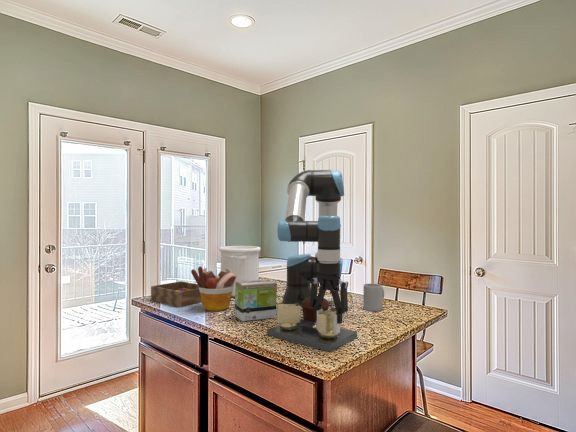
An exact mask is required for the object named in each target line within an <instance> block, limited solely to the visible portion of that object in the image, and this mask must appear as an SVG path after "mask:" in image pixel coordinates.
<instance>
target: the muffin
mask: <svg viewBox="0 0 576 432" xmlns="http://www.w3.org/2000/svg"><path fill="white" fill-rule="evenodd" d="M330 306H331V305H330V304H329V301H328V300H327V299H325V298H324V299H323V302H322V306H321V307H322V308H321V309H323V312H324V311H326V310H329V309H330ZM300 308H301V311H302V320H306V321H310V322H317V319H315V309H314V308H313V307H310V297H308V298H306V299H305V300H304V301H303V302H302V304H301V306H300Z"/></svg>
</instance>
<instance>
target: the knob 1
mask: <svg viewBox="0 0 576 432" xmlns="http://www.w3.org/2000/svg"><path fill="white" fill-rule="evenodd" d="M300 319H301V306H300V305H299V303H296V304H284V303H278V304H276V323H277V324H279V325H280V328H281V329H284V330H293V329H296V328H297V323H300Z"/></svg>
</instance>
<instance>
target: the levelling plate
mask: <svg viewBox="0 0 576 432" xmlns="http://www.w3.org/2000/svg"><path fill="white" fill-rule="evenodd" d="M268 335H269V337H272V336H273V337H272V338H275V337H276V338H277V339H279V338H280V340H284V341H287V342H291V343H295V344H299V345H303V346H306V347H310V348H314V349H318V350H321V351H325V352H329V353H331V352H333V351H335V350H336V349H338V348H340V347H342V346H344V345H346V344H348V343H349V342H351V341H353V340H355V339H357V338H358V331H356V330H352V329H346V328H342V327H340V333H338V334H337V337H336V338H332V339H327V338H322V337H320V336H319V332H318V330H317V322H310V321H306V320H304V319H301V318H300V323H297V328H296V329H293V330H284V329H281V328H280V324H279V325H276V326H273V327H270V328H268V329H266V336H268Z"/></svg>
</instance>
